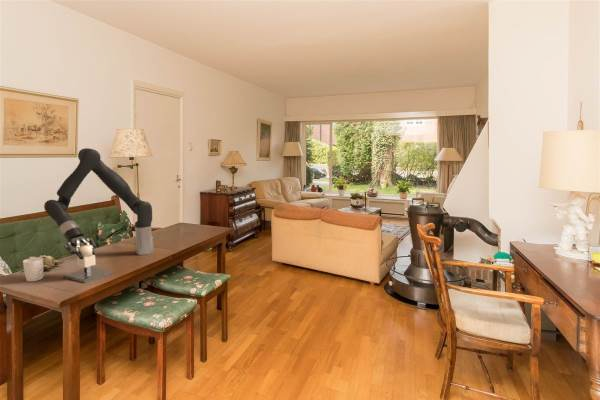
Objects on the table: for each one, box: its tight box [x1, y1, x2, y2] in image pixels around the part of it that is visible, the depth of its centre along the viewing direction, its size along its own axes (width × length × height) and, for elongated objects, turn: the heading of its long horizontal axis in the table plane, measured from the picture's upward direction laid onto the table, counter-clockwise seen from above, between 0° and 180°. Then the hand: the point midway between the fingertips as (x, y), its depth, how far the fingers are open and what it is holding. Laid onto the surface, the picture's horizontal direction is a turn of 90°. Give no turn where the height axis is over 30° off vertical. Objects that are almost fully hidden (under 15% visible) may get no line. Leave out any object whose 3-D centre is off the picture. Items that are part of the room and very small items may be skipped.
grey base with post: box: [63, 266, 112, 284], centre depth 172 cm, size 14×16×6 cm
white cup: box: [22, 256, 44, 283], centre depth 166 cm, size 8×8×10 cm
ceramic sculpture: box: [28, 253, 65, 271], centre depth 182 cm, size 11×9×15 cm
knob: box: [76, 245, 97, 269], centre depth 171 cm, size 6×6×10 cm
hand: (88, 256), depth 170 cm, fingers closed on knob, 5 cm apart
